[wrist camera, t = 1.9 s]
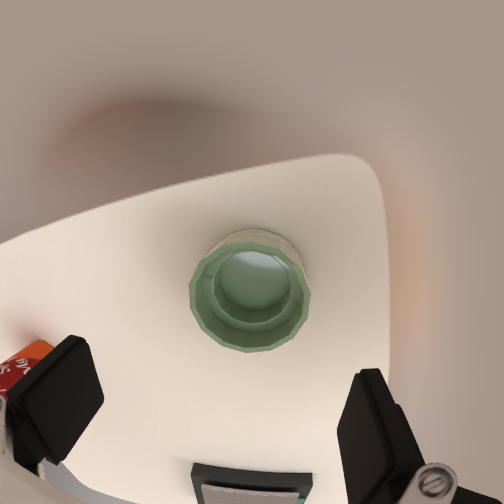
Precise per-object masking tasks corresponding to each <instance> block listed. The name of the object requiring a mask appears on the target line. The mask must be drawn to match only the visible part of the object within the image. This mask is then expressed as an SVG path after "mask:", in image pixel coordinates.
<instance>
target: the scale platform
mask: <svg viewBox="0 0 504 504" xmlns="http://www.w3.org/2000/svg"><path fill="white" fill-rule="evenodd" d="M201 489H202V494H203V498H204V502H205V504H296V502H297V500H298V498H299V493H288V492H264V491H251V490H241V489H232V488H225V487H218V486H211V485H206V484H202V486H201Z"/></svg>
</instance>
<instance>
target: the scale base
mask: <svg viewBox="0 0 504 504" xmlns="http://www.w3.org/2000/svg"><path fill="white" fill-rule="evenodd" d="M191 479H192V483H193V487H194V491H195V494H196V498H197V502H198V504H205V502H204V498H203V494H202V489H201V486H202V484H206V485H211V486H218V487H225V488H232V489H241V490H251V491H264V492H288V493H299V498H298V500H297V502H296V504H304V502H305V500H306V498H307V496H308V494H309V492H310V490H311V488H312V486H313V480H312V473H269V472H255V471H244V470H235V469H227V468H220V467H214V466H208V465H202V464H196V463H194V465H193V468H192V471H191Z"/></svg>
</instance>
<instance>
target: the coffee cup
mask: <svg viewBox="0 0 504 504" xmlns="http://www.w3.org/2000/svg"><path fill="white" fill-rule="evenodd" d="M53 349H54V348H53V347H52V346H50V345H49V344H48V343H46V342H44V341H41V340H38V341H35V342H34V343H32V344H30V345H29V346H27V347H25V348H24V349H22V350H21V351H19V352H18V353H16V354H15V355H13V356H12V357H11V358H9V359H8V360H6V361H5V362H3V363H2V364H0V395H2V396H3V397H4V399H5V401H7V400H8V398H7V396H6V394H5V393H6V392H7V391H8V390H9V389H10V388H11V387H12V386H13V385H14V384H15V383H16V382H17V381H19V380H20V379H21V378H22V377H23V376H24V375H25V374H26V373H27V372H28V371H29V370H30V369H32V368H33V367H34V366H35V365H36V364H37V363H38V362H39V361H40V360H41V359H43V358H44V357H45V356H46V355H47V354H48V353H49V352H50V351H52V350H53Z"/></svg>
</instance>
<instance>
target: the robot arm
mask: <svg viewBox="0 0 504 504" xmlns="http://www.w3.org/2000/svg"><path fill="white" fill-rule="evenodd" d="M5 394H6V396H7V398H8V400H7V401H5V399H4V397H3V396H2V395H0V504H87V503H85V502H83V501H80V500H79V499H77V498H74V497H73V496H71V495H69V494H67V493H65V492H63V491H61V490H59V489H57V488H56V487H54V486H52V485H51V484H49V483H47V482H46V480H45V475H44V469H43V463H42V460H43V458H44V457H45V458H46V460H47V461H49V462H51V463H53V464H55V465H56V466H57V465H58V464H59V462H60V461H63V460H64V459H65V458H66V457H67V455H68V454H69V452H70V451H71V449H72V448H73V446H74V445H75V443H76V442H77V440H78V439H79V437H80V436H81V434H82V433H83V432H84V430H85V429H86V427H87V426H88V424H89V423H90V421H91V420H92V419H93V417H94V416H95V414H96V413H97V411H98V410H99V408H100V407H101V406H102V404H103V402H104V394H103V391H102V388H101V385H100V382H99V379H98V376H97V372H96V369H95V365H94V362H93V358H92V355H91V351H90V347H89V344H88V343H87V342H86V340H85V339H84V338H82V337H78V336H75V335H69V336H68V337H66V338H65V339H64V340H63V341H62V342H61V343H60V344H58V345H57V346H56V347H55V348H54V349H53V350H52V351H50V352H49V353H48V354H47V355H46V356H45V357H44V358H43V359H41V360H40V361H39V362H38V363H37V364H36V365H35V366H34V367H33V368H32V369H30V370H29V371H28V372H27V373H26V374H25V375H24V376H23V377H22V378H21V379H20V380H19V381H17V382H16V383H15V384H14V385H13V386H12V387H11V388H10V389H9V390H8V391H7V392H6V393H5ZM337 437H338V443H339V448H340V454H341V460H342V466H343V472H344V478H345V484H346V491H347V497H348V504H502V503H501V502H500V501H499V500H497V499H495V498H491V497H488V496H485V495H482V494H479V493H476V492H473V491H470V490H468V489H465V488H462V487H459V486H457V483H458V481H457V476H456V474H455V472H454V471H453V470H452V469H451V468H450V467H449V466H447V465H445V464H442V463H429V464H425V462H424V459H423V457H422V454H421V452H420V450H419V447H418V444H417V442H416V440H415V437H414V435H413V433H412V431H411V428H410V426H409V424H408V421H407V419H406V417H405V415H404V412H403V410H402V408H401V407H400V405H398V404H395V402H394V400H393V398H392V395H391V393H390V391H389V389H388V386H387V384H386V382H385V380H384V378H383V376H382V374H381V371H380V370H379V369H378V368H373V369H362V370H361V371H360V373H356V374H355V376H354V379H353V382H352V385H351V388H350V392H349V395H348V398H347V401H346V404H345V407H344V410H343V413H342V415H341V418H340V421H339V424H338V427H337Z"/></svg>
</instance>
